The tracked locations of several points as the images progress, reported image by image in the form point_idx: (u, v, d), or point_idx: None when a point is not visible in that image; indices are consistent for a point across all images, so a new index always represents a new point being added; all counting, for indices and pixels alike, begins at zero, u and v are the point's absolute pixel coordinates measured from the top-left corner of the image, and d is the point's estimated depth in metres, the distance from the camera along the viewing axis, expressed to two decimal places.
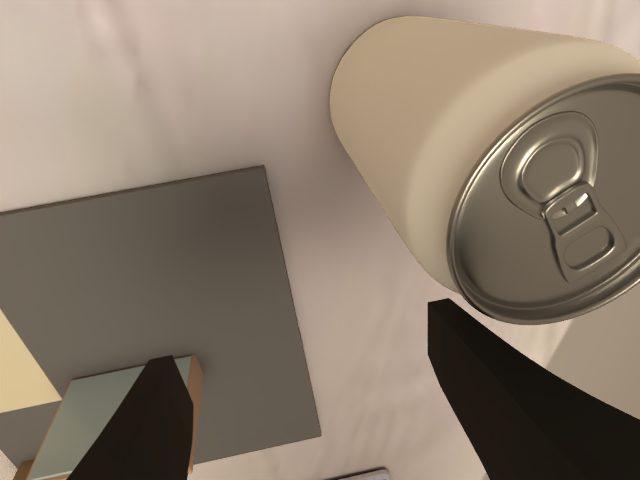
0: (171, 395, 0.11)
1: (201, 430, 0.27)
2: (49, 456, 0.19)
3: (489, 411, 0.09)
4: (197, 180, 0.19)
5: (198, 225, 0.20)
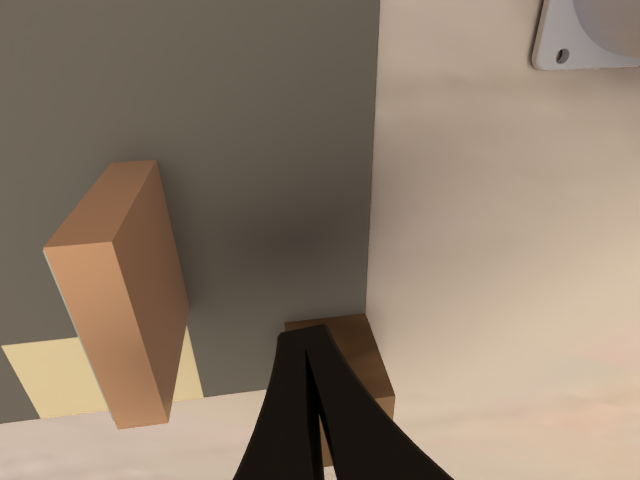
0: (308, 366, 0.11)
1: (291, 186, 0.17)
2: None
3: (332, 447, 0.09)
4: None
5: None
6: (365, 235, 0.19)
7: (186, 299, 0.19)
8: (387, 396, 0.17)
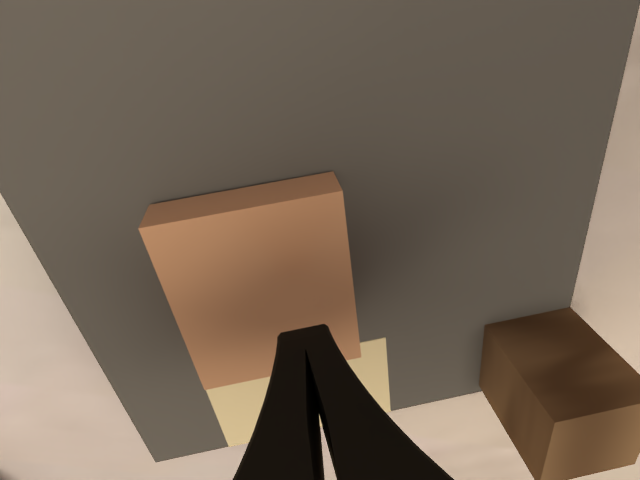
0: (308, 366, 0.11)
1: (517, 175, 0.15)
2: None
3: (331, 447, 0.09)
4: None
5: (56, 140, 0.12)
6: (585, 221, 0.17)
7: (353, 346, 0.16)
8: None
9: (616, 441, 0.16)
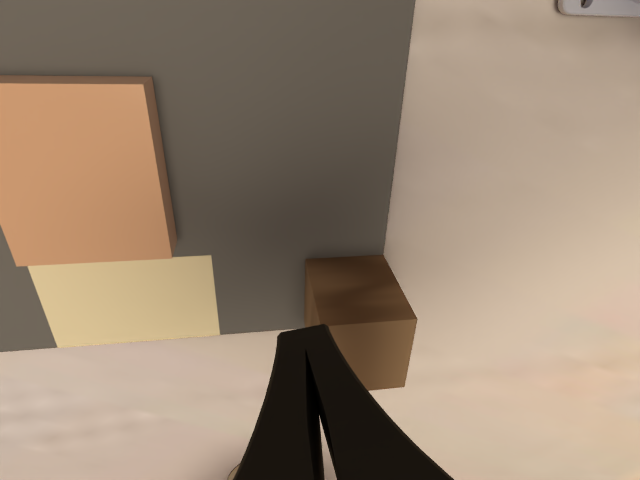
0: (309, 366, 0.11)
1: (324, 115, 0.18)
2: None
3: (332, 447, 0.09)
4: None
5: None
6: (390, 172, 0.19)
7: (163, 245, 0.17)
8: (409, 319, 0.17)
9: (382, 358, 0.18)
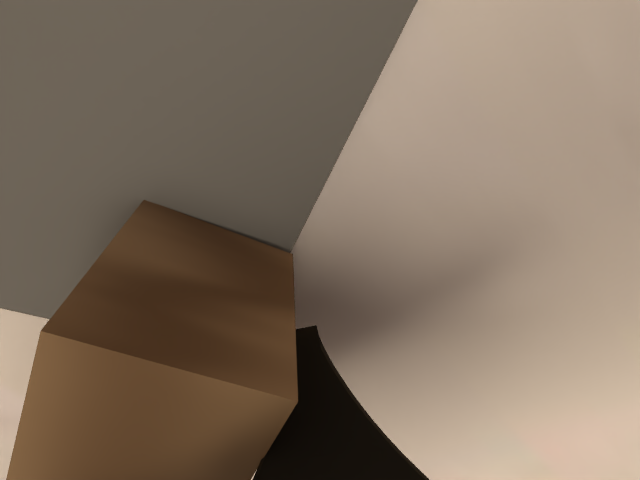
0: None
1: None
2: None
3: None
4: None
5: None
6: (362, 94, 0.10)
7: None
8: (280, 395, 0.07)
9: (186, 461, 0.08)
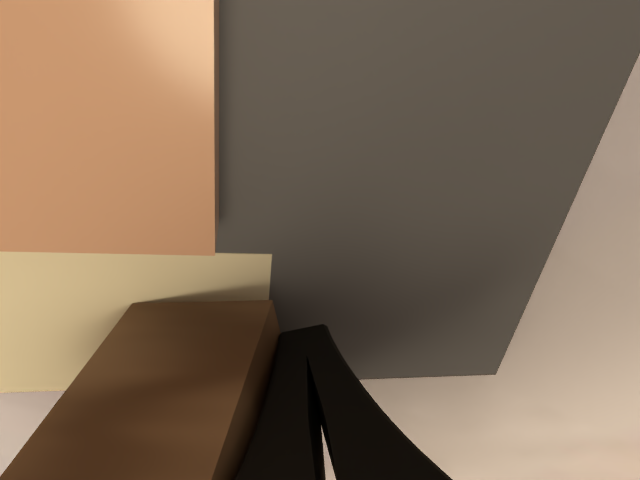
0: None
1: (527, 7, 0.09)
2: None
3: (330, 447, 0.09)
4: None
5: None
6: (598, 133, 0.11)
7: (202, 229, 0.09)
8: None
9: None
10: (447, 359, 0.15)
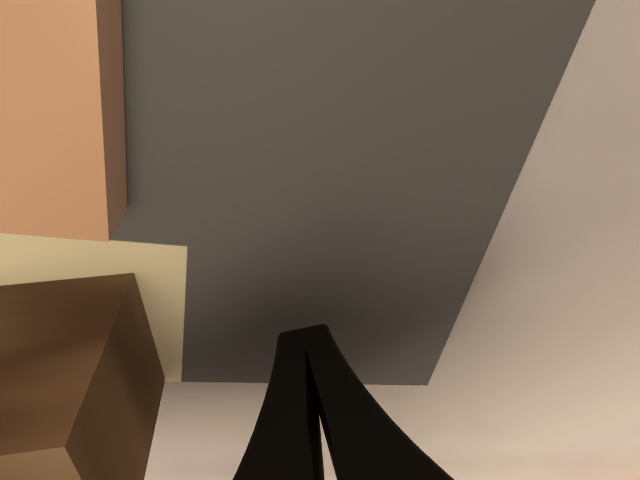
0: (309, 366, 0.11)
1: (451, 7, 0.09)
2: None
3: (331, 447, 0.09)
4: None
5: None
6: (527, 143, 0.11)
7: (93, 212, 0.08)
8: (48, 447, 0.07)
9: None
10: (377, 367, 0.14)
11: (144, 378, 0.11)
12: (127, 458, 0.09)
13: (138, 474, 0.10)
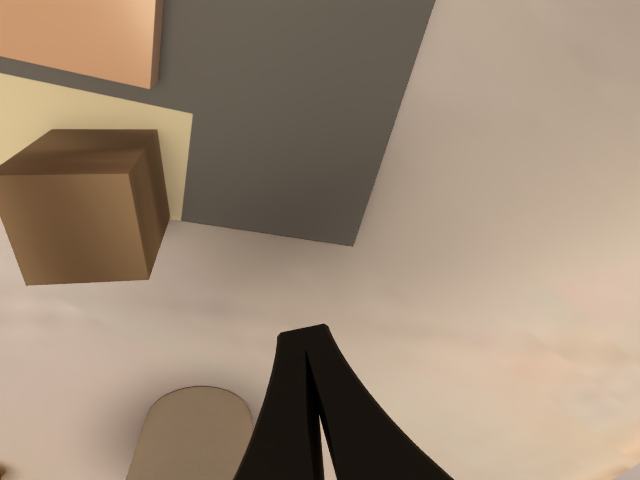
0: (309, 366, 0.11)
1: None
2: None
3: (331, 446, 0.09)
4: None
5: None
6: (410, 63, 0.18)
7: (143, 68, 0.15)
8: (119, 174, 0.13)
9: (99, 233, 0.14)
10: (316, 226, 0.21)
11: (160, 197, 0.17)
12: (150, 227, 0.16)
13: (155, 245, 0.16)
